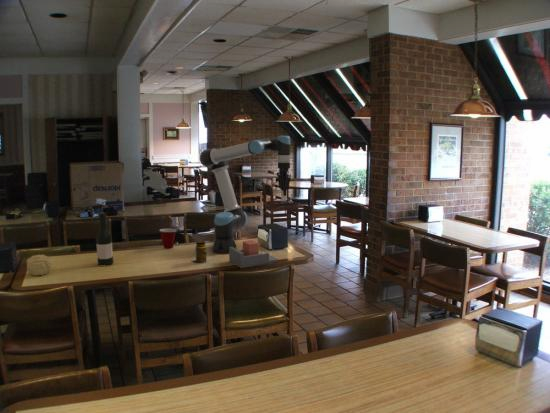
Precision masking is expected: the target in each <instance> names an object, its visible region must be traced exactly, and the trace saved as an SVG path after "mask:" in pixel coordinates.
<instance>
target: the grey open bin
mask: <svg viewBox="0 0 550 413" xmlns="http://www.w3.org/2000/svg"><path fill="white" fill-rule="evenodd" d="M228 260H229V261H228V262H229V263H231V262H232V263H231V264H233V263H234V264H233V265H235V264H236V265H238V266H239V267H240V269H246V268H251V267H257V266H261V265H268V264H272V263H278V262H279V259H278V258H276V257H274V256H273V255H270V253H269V252H260V253H259V254H255V255H249V256H244V253H243V248H242V249H235V248H234V247H229V253H228ZM236 265H235V266H236ZM238 266H237V267H238ZM239 267H238V268H239Z"/></svg>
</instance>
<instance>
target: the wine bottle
mask: <svg viewBox="0 0 550 413" xmlns="http://www.w3.org/2000/svg"><path fill="white" fill-rule="evenodd" d="M106 217H107V214H106V212H105V211H104V212H103V211H102V212H99V213H98V218H99V230H98V232H97V234H96V236H95V241H96V256H97V265H98V266H99V265H109V266H112V265H113V264H114V253H113V239H112V233H111V232H110V231H109V229H108V228H107V218H106Z"/></svg>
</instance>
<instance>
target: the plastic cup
mask: <svg viewBox="0 0 550 413" xmlns="http://www.w3.org/2000/svg"><path fill="white" fill-rule="evenodd" d="M159 233H160V236H161V242H162V245H163V249H166V250H169V249H170V250H171V249H173V248H174V244H175V239H176V238H175V237H176V233H177V229H176V228H161V229H159Z"/></svg>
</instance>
